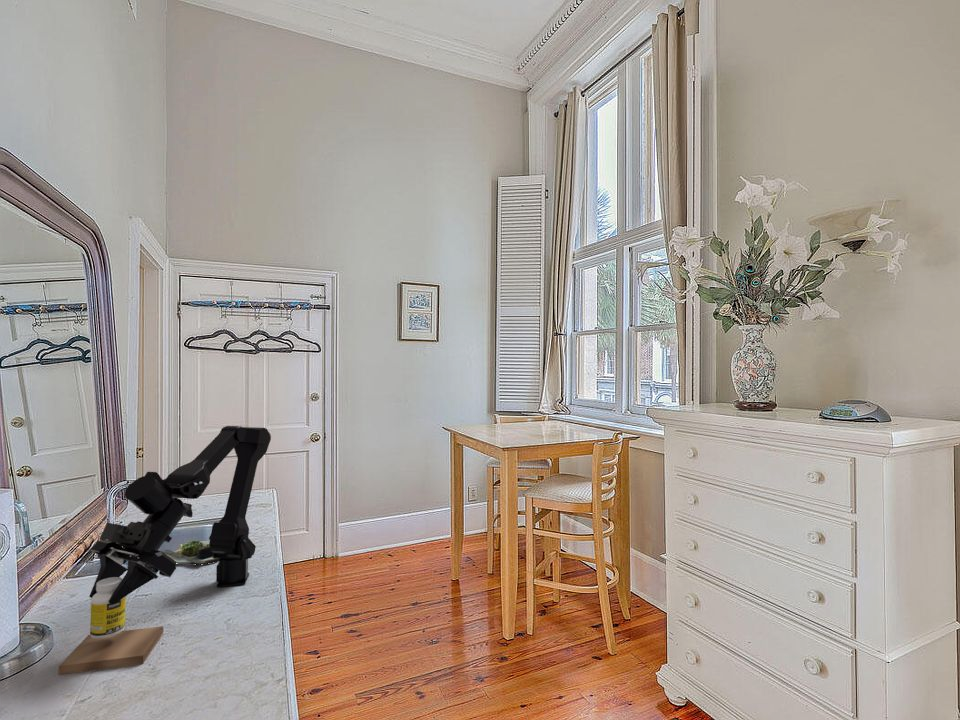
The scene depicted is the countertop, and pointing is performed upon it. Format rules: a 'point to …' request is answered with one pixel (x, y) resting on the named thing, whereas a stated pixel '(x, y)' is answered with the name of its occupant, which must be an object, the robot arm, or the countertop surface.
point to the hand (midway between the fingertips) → (100, 600)
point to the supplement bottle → (107, 610)
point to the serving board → (112, 651)
